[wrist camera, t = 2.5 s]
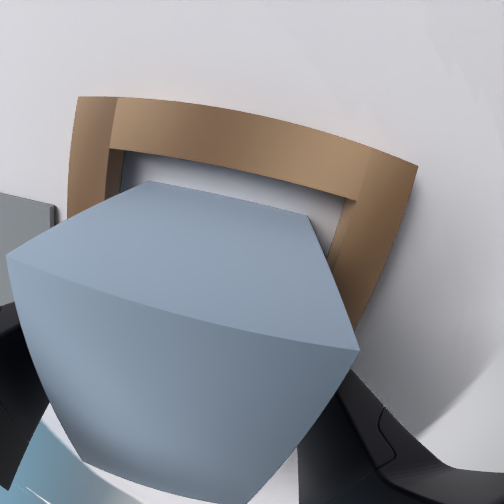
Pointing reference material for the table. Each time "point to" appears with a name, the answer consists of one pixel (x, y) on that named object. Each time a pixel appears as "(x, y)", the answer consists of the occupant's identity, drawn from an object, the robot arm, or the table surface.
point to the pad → (19, 231)
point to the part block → (183, 336)
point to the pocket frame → (251, 171)
